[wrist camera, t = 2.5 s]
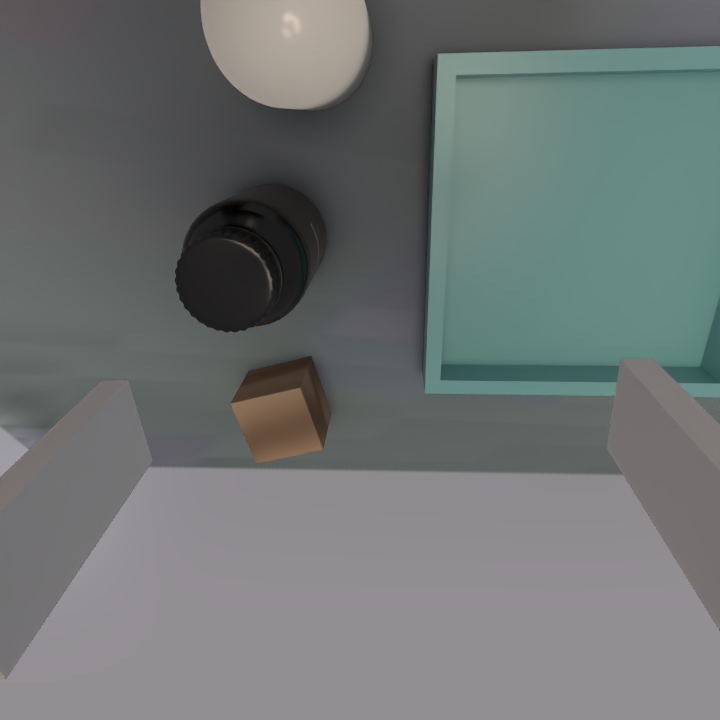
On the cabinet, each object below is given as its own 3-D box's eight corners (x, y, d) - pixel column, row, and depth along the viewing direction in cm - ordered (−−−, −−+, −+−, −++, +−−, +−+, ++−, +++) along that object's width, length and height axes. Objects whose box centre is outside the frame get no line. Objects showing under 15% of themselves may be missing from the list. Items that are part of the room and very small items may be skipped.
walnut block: (248, 370, 40) (230, 403, 35) (311, 355, 39) (300, 387, 34) (271, 425, 42) (256, 463, 37) (331, 412, 41) (323, 449, 36)
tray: (433, 59, 30) (437, 53, 27) (796, 50, 29) (845, 42, 26) (422, 370, 39) (424, 393, 36) (703, 373, 38) (732, 397, 34)
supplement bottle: (348, 245, 35) (328, 302, 24) (273, 303, 37) (223, 380, 26) (281, 158, 33) (226, 179, 22) (205, 225, 35) (121, 273, 24)
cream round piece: (246, -28, 29) (188, -84, 21) (372, -33, 29) (363, -91, 21) (258, 111, 32) (212, 110, 24) (373, 109, 32) (365, 107, 24)
